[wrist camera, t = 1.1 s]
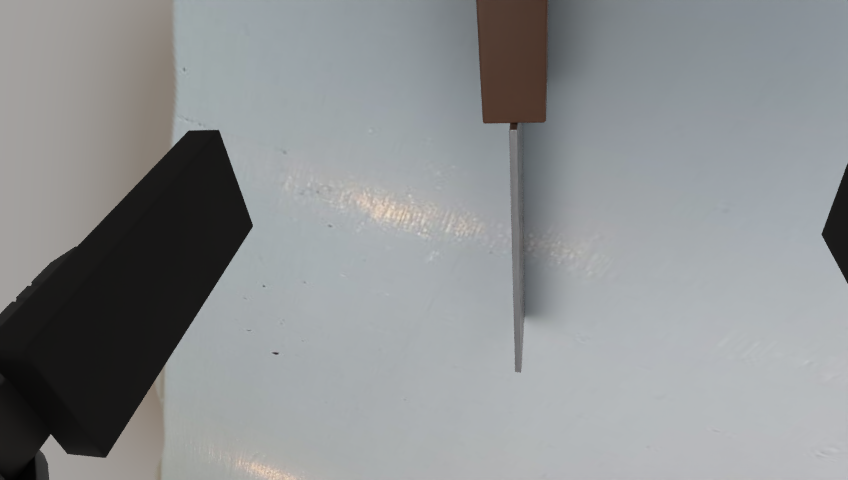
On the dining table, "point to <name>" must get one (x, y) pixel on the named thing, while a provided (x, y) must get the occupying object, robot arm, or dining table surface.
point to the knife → (514, 104)
